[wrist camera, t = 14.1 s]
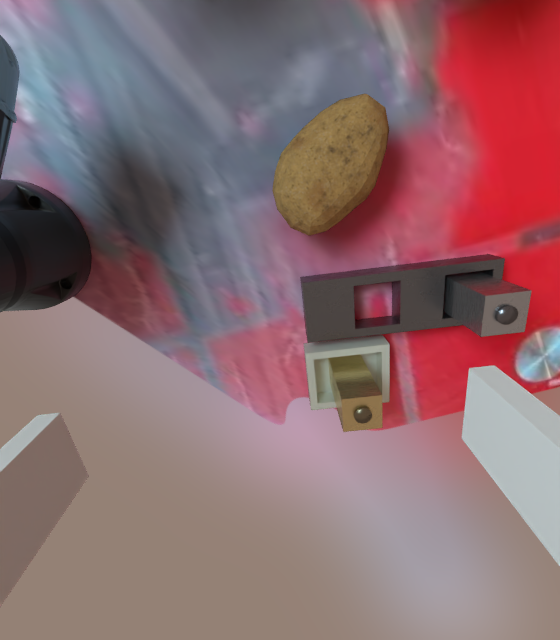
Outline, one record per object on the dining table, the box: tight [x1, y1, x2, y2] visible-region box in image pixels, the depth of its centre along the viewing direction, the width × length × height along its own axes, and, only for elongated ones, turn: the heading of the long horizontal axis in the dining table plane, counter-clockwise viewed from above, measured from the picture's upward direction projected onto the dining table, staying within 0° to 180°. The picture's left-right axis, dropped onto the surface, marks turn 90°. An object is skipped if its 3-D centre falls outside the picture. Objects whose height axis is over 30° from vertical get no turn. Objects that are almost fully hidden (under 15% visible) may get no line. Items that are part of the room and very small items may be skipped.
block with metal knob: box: [328, 354, 382, 432], centre depth 40 cm, size 4×4×10 cm
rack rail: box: [300, 254, 505, 343], centre depth 41 cm, size 24×8×3 cm, turn 97°
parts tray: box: [304, 335, 390, 410], centre depth 44 cm, size 11×9×3 cm
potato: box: [273, 94, 389, 235], centre depth 33 cm, size 10×14×8 cm
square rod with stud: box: [443, 271, 531, 337], centre depth 37 cm, size 4×4×10 cm
